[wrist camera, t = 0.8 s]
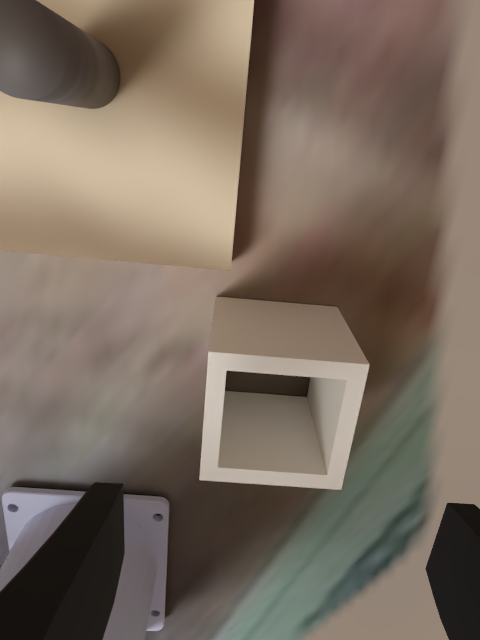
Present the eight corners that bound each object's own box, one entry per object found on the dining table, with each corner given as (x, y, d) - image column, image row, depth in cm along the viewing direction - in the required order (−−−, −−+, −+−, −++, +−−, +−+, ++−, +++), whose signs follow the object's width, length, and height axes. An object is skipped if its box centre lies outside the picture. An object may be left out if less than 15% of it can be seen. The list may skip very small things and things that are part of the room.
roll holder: (231, 261, 18) (228, 323, 12) (-28, 239, 18) (-156, 291, 12) (265, -135, 13) (286, -334, 8) (-84, -177, 13) (-339, -421, 7)
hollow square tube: (318, 409, 21) (341, 489, 16) (208, 401, 20) (199, 480, 16) (336, 306, 19) (369, 364, 14) (215, 296, 18) (208, 351, 14)
